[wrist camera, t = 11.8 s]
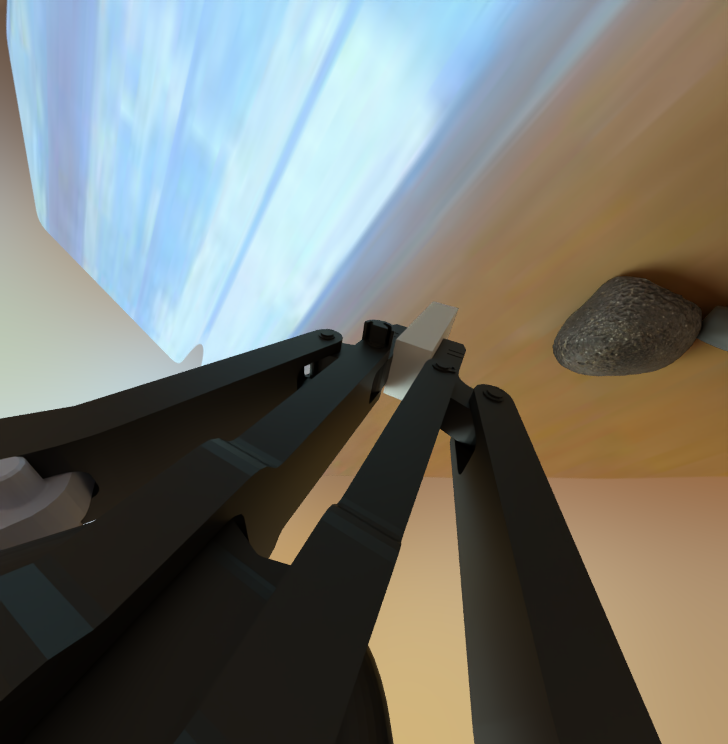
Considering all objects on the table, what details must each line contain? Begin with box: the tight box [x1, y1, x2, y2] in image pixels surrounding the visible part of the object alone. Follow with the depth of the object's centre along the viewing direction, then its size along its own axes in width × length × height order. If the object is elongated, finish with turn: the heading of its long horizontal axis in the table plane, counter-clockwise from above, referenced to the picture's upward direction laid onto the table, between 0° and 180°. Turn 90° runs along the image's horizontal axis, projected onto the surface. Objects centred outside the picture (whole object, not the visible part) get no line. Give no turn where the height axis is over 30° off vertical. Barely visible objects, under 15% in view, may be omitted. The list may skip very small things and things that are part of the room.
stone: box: [553, 276, 702, 376], centre depth 25 cm, size 10×8×10 cm
